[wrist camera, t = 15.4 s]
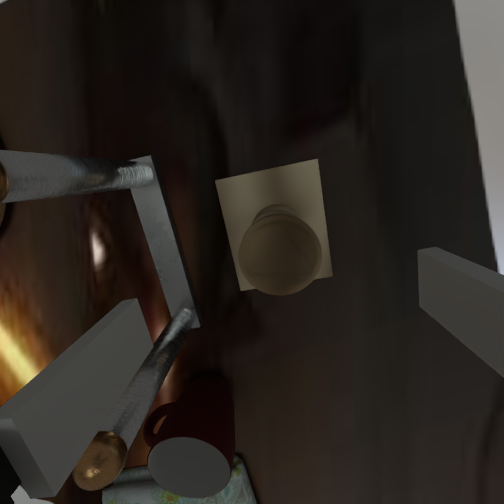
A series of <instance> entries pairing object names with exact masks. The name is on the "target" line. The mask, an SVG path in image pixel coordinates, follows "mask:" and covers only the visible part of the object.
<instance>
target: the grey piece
mask: <svg viewBox="0 0 504 504" xmlns="http://www.w3.org/2000/svg"><path fill="white" fill-rule="evenodd" d="M123 189H131V192H132V195H133V198H134V201H135V205H136V208H137V211H138V214H139V217H140V220H141V223H142V226H143V230H144V233H145V236H146V239H147V242H148V245H149V248H150V251H151V254H152V258H153V261H154V264H155V267H156V270H157V273H158V276H159V279H160V283H161V286H162V289H163V292H164V295H165V298H166V301H167V304H168V307H169V311H170V314H171V317H172V318H171V319H170V321H169V322H168V324H167V325H166V327H165V328H164V330H163V331H162V333H161V334H160V336H159V337H158V338H157V340H156V341H155V343H154V344H153V346H154V347H153V348H152V350H151V351H150V353H149V354H148V356H147V357H146V359H145V360H144V362H143V363H142V365H141V366H140V368H139V369H138V371H137V373H136V374H135V376H134V377H133V379H132V380H131V382H130V383H129V385H128V386H127V388H126V389H125V391H124V392H123V394H122V395H121V397H120V398H119V400H118V402H117V403H116V405H115V406H114V408H113V409H112V411H111V412H110V414H109V415H108V417H107V418H106V420H105V421H104V423H103V424H102V426H101V428H100V429H99V431H98V432H97V434H96V435H95V437H94V438H93V440H92V441H91V443H90V444H89V446H88V447H87V449H86V450H85V452H84V453H83V455H82V457H81V458H80V460H79V461H78V463H77V464H76V466H75V467H74V469H73V470H72V476H73V479H74V481H75V482H76V484H77V485H78V486H79V487H80V488H82V489H85V490H89V491H93V490H98V489H101V488H104V487H106V486H107V485H109V484H110V483H111V482H113V481H114V480H115V479H116V477H117V476H118V475H119V474H120V472H121V471H122V469H123V467H124V465H125V462H126V459H127V454H128V450H129V448H130V446H131V444H132V442H133V440H134V438H135V436H136V434H137V432H138V430H139V428H140V427H141V425H142V423H143V421H144V419H145V417H146V415H147V413H148V411H149V409H150V407H151V405H152V403H153V401H154V399H155V397H156V395H157V393H158V391H159V389H160V388H161V386H162V384H163V382H164V380H165V378H166V376H167V374H168V372H169V370H170V368H171V366H172V364H173V362H174V360H175V358H176V356H177V354H178V352H179V351H180V349H181V347H182V345H183V343H184V341H185V339H186V337H187V335H188V333H189V331H190V329H191V328H197V327H201V325H202V322H203V320H202V317H201V313H200V310H199V306H198V302H197V299H196V295H195V292H194V288H193V285H192V281H191V278H190V274H189V271H188V267H187V264H186V260H185V257H184V253H183V250H182V246H181V243H180V239H179V236H178V232H177V229H176V225H175V222H174V218H173V215H172V211H171V208H170V204H169V201H168V197H167V194H166V190H165V187H164V183H163V180H162V176H161V173H160V169H159V166H158V162H157V159H156V156H151V155H150V156H146V157H142V158H137V159H133V160H129V161H126V160H114V159H102V158H90V157H79V156H67V155H55V154H43V153H31V152H20V151H8V150H0V203H7V202H16V201H25V200H34V199H43V198H52V197H61V196H69V195H78V194H87V193H96V192H105V191H114V190H123Z"/></svg>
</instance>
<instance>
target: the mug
mask: <svg viewBox="0 0 504 504" xmlns="http://www.w3.org/2000/svg"><path fill="white" fill-rule="evenodd" d="M166 415H167V416H166ZM164 416H166V418H165V419H164V421H163V423H162V424H161V426H160V428H159V430H158V432H157V434H154V433H153V430H154V427H155V425H156V424H157V422H158V421H159V420H160V419H161V418H163V417H164ZM143 435H144V440H145V442H146V444H147V445H148V446H150V447H151V449H150V451H149V454H148V458H147V466H148V470H149V472H150V474H151V476H152V478H153V479H154V480H155V481H156V483H157V484H159V485H160V486H161V487H162V488H164V489H165V490H167V491H169V492H171V493H173V494H175V495H178V496H182V497H186V498H206V497H210V496H213V495H215V494H217V493H219V492H220V491H222V490H223V489H224V488H225V487H226V486H227V484H228V483H229V481H230V478H231V473H232V467H233V460H234V452H235V425H234V404H233V399H232V396H231V393H230V391H229V389H228V387H227V385H226V383H225V381H224V380H223V379H222V378H221V377H219V376H217V375H214V374H206V375H203V376H201V377H200V378H198V379H197V380H195V381H194V382H192V383H191V384H190V385H188V386H187V387H186V388H185V390H184V391H183V392H182V393H181V395H180V396H179V398H178V399H177V401H176V402H172V403H167V404H164V405H162V406H160V407H158V408H157V409H156V410H154V411H153V412H152V413H151V415H150V416H149V417H148V419H147V420H146V422H145V425H144V430H143Z"/></svg>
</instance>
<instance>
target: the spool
mask: <svg viewBox="0 0 504 504" xmlns="http://www.w3.org/2000/svg"><path fill="white" fill-rule="evenodd" d="M238 261H239V266H240V269H241V271H242V274H243V275H244V277H245V278H246V280H247V281H248V282H249V283H250V284H251V285H252V286H253V287H255V288H256V289H258V290H260V291H262V292H264V293H267V294H271V295H289V294H293V293H296V292H298V291H300V290H302V289H303V288H305V287H306V286H308V285H309V284H310V283H311V282H312V281H313V280H314V278H315V277H316V275H317V274H318V272H319V269H320V266H321V262H322V248H321V244H320V241H319V239H318V237H317V235H316V234H315V232H314V231H313V230H312V228H311V227H310V226H309V225H308V224H307V223H305V222H304V221H303V220H301V218H300V217H299V215H298V214H297V213H296V212H295V211H294V210H293V209H292V208H290V207H288V206H286V205H281V204H274V205H269V206H267V207H265V208H263V209H262V210H260V211H259V212H258V213H257V215H256V216H255V218H254V220H253V223H252V225H251V226H250V227H249V228H248V230H247V231H246V232H245V234H244V236H243V238H242V240H241V243H240V246H239V251H238Z"/></svg>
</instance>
